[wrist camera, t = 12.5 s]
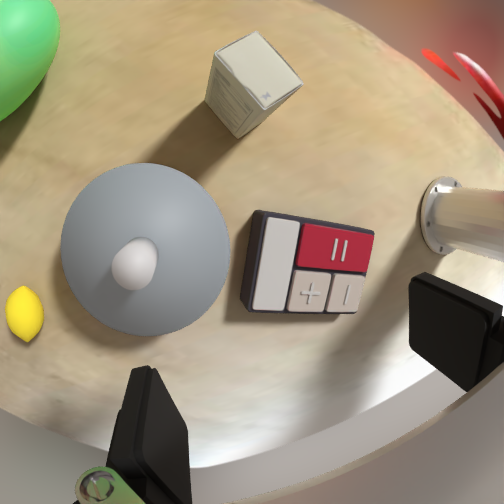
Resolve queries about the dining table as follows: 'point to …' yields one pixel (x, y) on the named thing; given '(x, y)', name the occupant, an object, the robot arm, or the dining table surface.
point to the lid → (145, 249)
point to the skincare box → (249, 83)
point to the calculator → (304, 265)
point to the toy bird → (25, 48)
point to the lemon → (24, 313)
